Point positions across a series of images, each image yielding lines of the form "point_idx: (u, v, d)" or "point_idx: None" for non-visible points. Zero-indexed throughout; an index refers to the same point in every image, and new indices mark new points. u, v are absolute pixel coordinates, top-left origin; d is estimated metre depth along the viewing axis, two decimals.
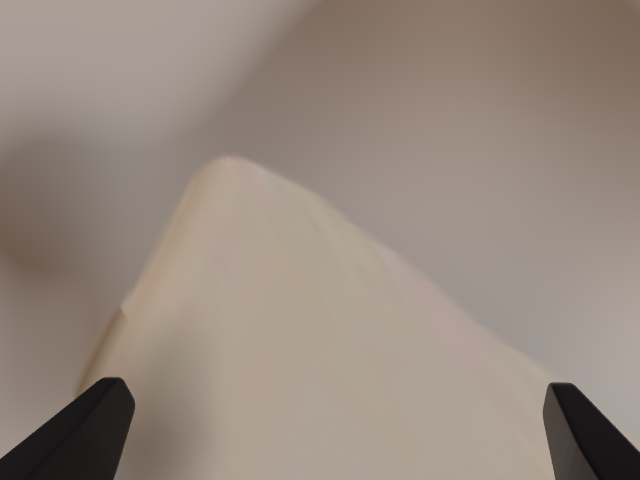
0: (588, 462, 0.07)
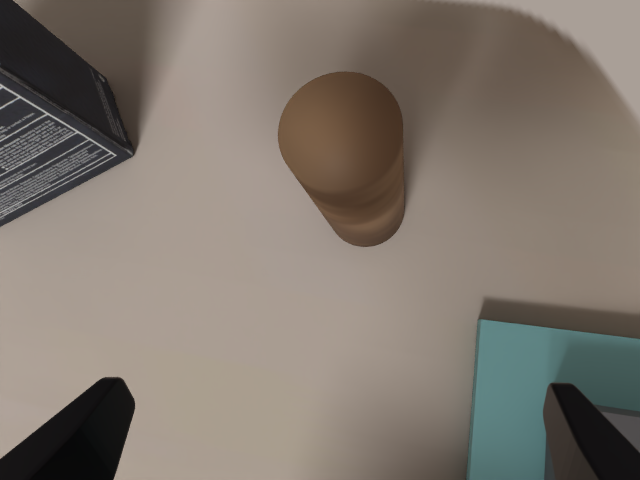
0: (588, 462, 0.07)
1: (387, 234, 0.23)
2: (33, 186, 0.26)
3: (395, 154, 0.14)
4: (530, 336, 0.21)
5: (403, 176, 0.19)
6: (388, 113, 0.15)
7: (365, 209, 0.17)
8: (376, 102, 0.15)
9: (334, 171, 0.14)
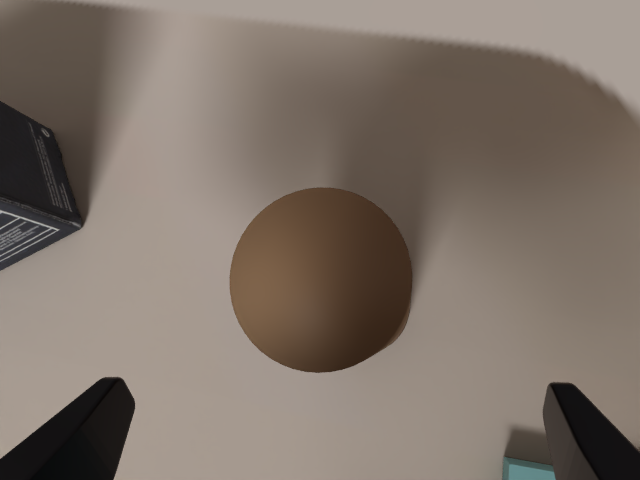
0: (588, 462, 0.07)
1: None
2: None
3: (401, 321, 0.10)
4: None
5: None
6: (390, 255, 0.10)
7: None
8: (373, 238, 0.10)
9: (310, 342, 0.10)
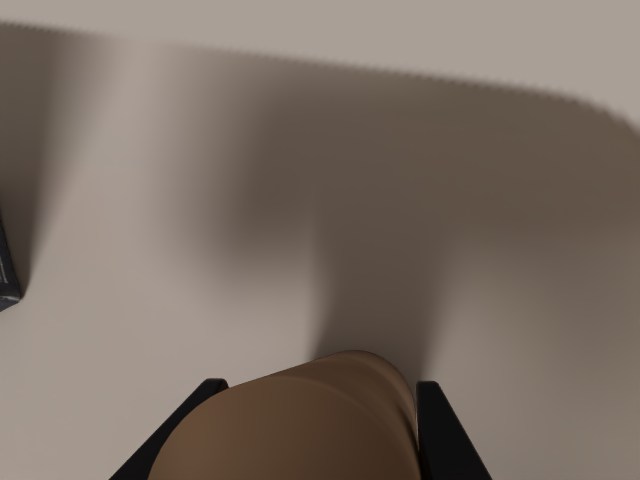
0: (424, 455, 0.07)
1: None
2: None
3: None
4: None
5: None
6: None
7: None
8: (365, 475, 0.06)
9: None
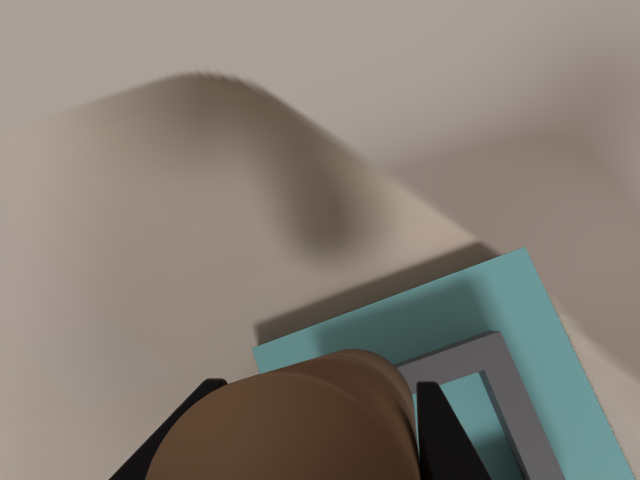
0: (424, 455, 0.07)
1: None
2: None
3: None
4: (294, 342, 0.23)
5: None
6: None
7: None
8: (363, 470, 0.06)
9: None
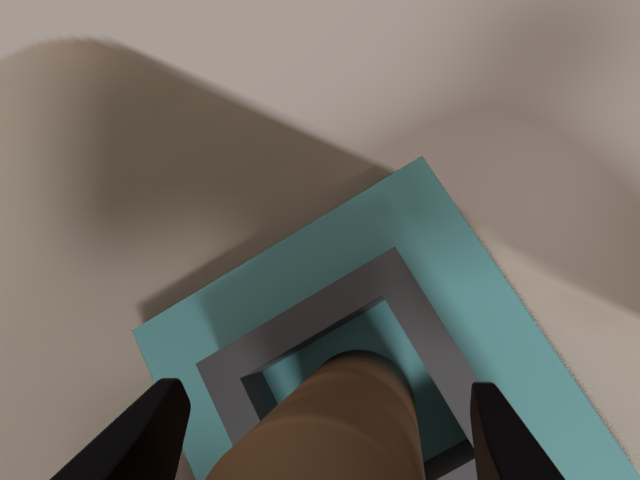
0: (492, 458, 0.07)
1: None
2: None
3: None
4: (179, 314, 0.19)
5: None
6: None
7: None
8: None
9: None
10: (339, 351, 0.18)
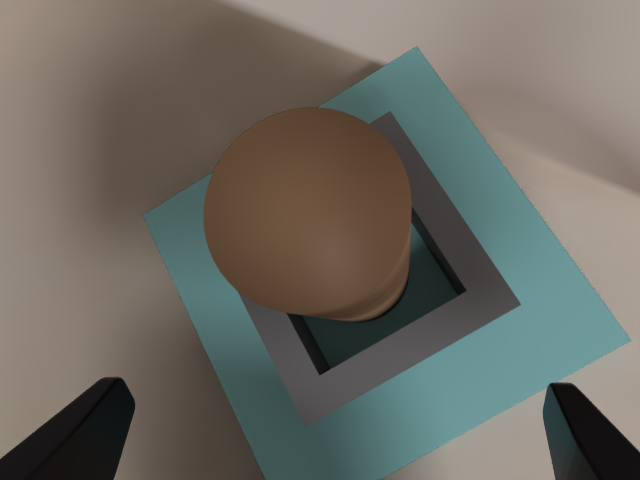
0: (588, 462, 0.07)
1: (386, 311, 0.17)
2: None
3: (399, 254, 0.08)
4: (187, 199, 0.20)
5: None
6: (387, 181, 0.09)
7: (351, 314, 0.11)
8: (367, 162, 0.09)
9: (294, 280, 0.08)
10: None
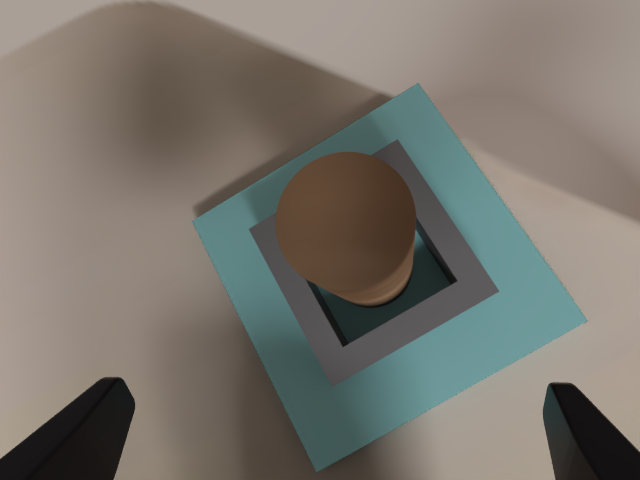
0: (588, 462, 0.07)
1: (394, 298, 0.21)
2: None
3: (407, 250, 0.13)
4: (229, 207, 0.25)
5: None
6: (399, 202, 0.13)
7: (372, 294, 0.15)
8: (386, 189, 0.13)
9: (338, 267, 0.13)
10: None
